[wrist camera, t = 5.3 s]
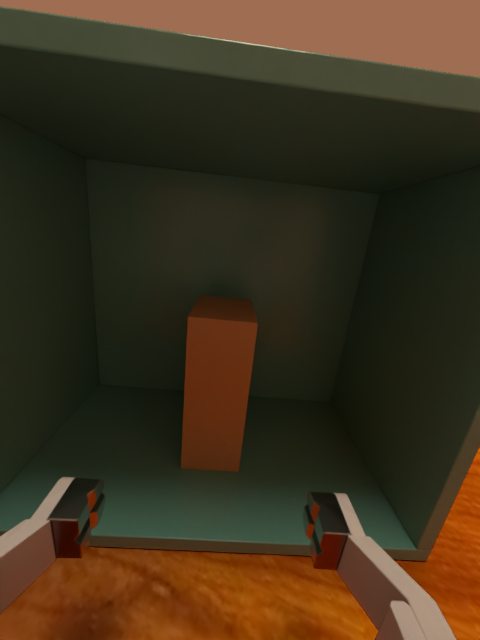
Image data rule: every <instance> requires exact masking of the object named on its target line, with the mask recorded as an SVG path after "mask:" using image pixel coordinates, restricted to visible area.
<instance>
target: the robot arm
mask: <svg viewBox="0 0 480 640" xmlns="http://www.w3.org/2000/svg"><path fill="white" fill-rule="evenodd" d="M103 488H104V480H98V479H87V478H74V477H62V478H61V479H59V480H58V481H57V483H56V484H55V485H54V487H53V488H52V490H51V491H50V492H49V494H48V495H47V496H46V498H45V499H44V501H43V502H42V503H41V505H40V506H39V507H38V509H37V510H36V512H35V513H34V514H33V516H32V517H31V518H30V519H25V520H24V521H22V522H21V523H19V524H18V525H16V526H15V527H13V528H12V529H11V530H9V531H8V532H6V533H5V534H3V535H2V536H0V614H1V613H2V612H3V611H4V610H5V609H6V608H7V607H8V606H9V605H10V604H11V603H12V602H13V601H14V600H15V599H16V598H17V597H19V596H20V595H21V594H22V593H23V592H24V591H25V590H26V589H27V588H28V587H29V586H30V585H31V584H32V583H33V582H34V581H35V580H36V579H37V578H38V577H39V576H40V575H41V574H42V573H43V572H44V571H45V570H46V569H47V568H48V567H49V566H50V565H51V564H52V563H53V562H54V561H55V560H56V558H82V557H83V554H84V552H85V550H86V548H87V546H88V544H89V542H90V540H91V538H92V536H91V530H92V529H93V528H94V527H95V526H97V525H98V523H99V521H100V519H101V516H102V513H103V510H104V506H105V495H104V494H103V493H102V490H103ZM307 502H308V504H307V505H306V506H304V511H303V523H304V529H305V534H306V536H307V537H308V538H309V539H310V540H311V541H310V546H309V550H310V554H311V558H312V562H313V566H314V569H327V570H337V573H338V574H339V576H340V577H341V579H342V580H343V581H344V583H345V584H346V586H347V587H348V588H349V590H350V591H351V593H352V594H353V596H354V597H355V598H356V600H357V601H358V603H359V604H360V605H361V607H362V608H363V610H364V611H365V612H366V614H367V615H368V617H369V618H370V619H371V621H372V622H373V624H374V625H375V627H376V628H377V629H378V634H377V636H376V638H375V640H457V639H456V637H455V635H454V634H453V632H452V630H451V628H450V626H449V625H448V623H447V621H446V619H445V617H444V616H443V614H442V612H441V610H440V608H439V607H438V605H437V603H436V601H435V600H434V599H433V598H432V597H431V596H430V595H429V594H428V593H427V592H426V591H425V590H424V589H423V588H422V587H421V586H420V585H419V584H418V583H417V582H416V581H415V580H414V579H412V578H411V577H410V576H409V575H408V574H407V573H406V572H405V571H404V570H403V569H402V568H401V567H400V566H399V565H398V564H397V563H396V562H395V561H394V560H393V559H392V558H391V557H390V556H389V555H388V554H387V553H386V552H385V551H384V550H383V549H382V548H381V547H380V546H379V545H378V544H377V543H376V542H375V541H374V540H373V539H372V538H371V537H368V536H366V535H365V533H364V531H363V528H362V526H361V524H360V522H359V519H358V517H357V515H356V513H355V511H354V508H353V506H352V504H351V502H350V499H349V497H348V496H347V494H345V493H332V492H310V491H309V492H308V494H307Z"/></svg>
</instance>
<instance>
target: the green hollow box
mask: <svg viewBox="0 0 480 640" xmlns="http://www.w3.org/2000/svg"><path fill="white" fill-rule="evenodd" d="M200 295H206V296H217V297H227V298H237V299H248V300H251V301H252V304H253V308H254V311H255V315H256V318H257V322H258V327H257V335H256V343H255V350H254V358H253V366H252V373H251V381H250V389H249V396H248V404H247V411H246V419H245V427H244V434H243V442H242V450H241V457H240V465H239V471H238V472H234V471H218V470H201V469H185V468H181V449H182V427H183V405H184V384H185V362H186V340H187V319H188V316H189V314H190V312H191V310H192V309H193V307H194V305H195V303H196V301H197V300H198V298H199V296H200ZM479 447H480V78H479V77H473V76H466V75H459V74H452V73H446V72H439V71H433V70H425V69H419V68H412V67H406V66H399V65H392V64H386V63H379V62H372V61H365V60H359V59H352V58H345V57H338V56H332V55H325V54H318V53H311V52H304V51H298V50H292V49H285V48H278V47H271V46H265V45H258V44H251V43H244V42H238V41H231V40H224V39H218V38H211V37H204V36H198V35H191V34H184V33H177V32H170V31H164V30H157V29H151V28H144V27H137V26H130V25H123V24H117V23H110V22H104V21H96V20H90V19H83V18H77V17H70V16H63V15H57V14H50V13H43V12H36V11H30V10H23V9H16V8H9V7H3V6H0V536H2V535H3V534H5V533H6V532H8V531H9V530H11V529H12V528H13V527H15V526H16V525H18V524H19V523H21V522H22V521H24V520H25V519H30V518H31V517H32V516H33V514H34V513H35V512H36V510H37V509H38V507H39V506H40V505H41V503H42V502H43V501H44V499H45V498H46V496H47V495H48V494H49V492H50V491H51V490H52V488H53V487H54V485H55V484H56V483H57V481H58V480H59V479H61V478H62V477H74V478H87V479H98V480H104V488H103V490H102V493H103V494H104V495H105V506H104V510H103V513H102V516H101V519H100V521H99V523H98V525H97V526H95V527H94V528H93V529H92V530H91V536H92V538H91V540H90V542H89V544H88V546H98V547H121V548H144V549H166V550H189V551H212V552H234V553H257V554H280V555H302V556H311V554H310V550H309V546H310V541H311V540H310V539H309V538H308V537H307V536H306V534H305V529H304V523H303V511H304V506H306V505H307V504H308V502H307V494H308V492H309V491H310V492H332V493H345V494H347V496H348V497H349V499H350V502H351V504H352V506H353V508H354V511H355V513H356V515H357V517H358V519H359V522H360V524H361V526H362V528H363V531H364V533H365V535H366V536H368V537H371V538H372V539H373V540H374V541H375V542H376V543H377V544H378V545H379V546H380V547H381V548H382V549H383V550H384V551H385V552H386V553H387V554H388V555H389V556H390V557H391V558H392V559H393V560H416V561H426V560H427V558H428V556H429V554H430V552H431V549H432V548H433V545H434V543H435V541H436V539H437V537H438V535H439V533H440V530H441V528H442V526H443V524H444V522H445V520H446V517H447V515H448V513H449V511H450V509H451V507H452V505H453V502H454V500H455V498H456V496H457V494H458V492H459V490H460V487H461V485H462V483H463V481H464V479H465V477H466V474H467V472H468V470H469V468H470V466H471V464H472V462H473V459H474V457H475V455H476V453H477V451H478V449H479Z"/></svg>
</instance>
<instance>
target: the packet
mask: <svg viewBox="0 0 480 640" xmlns="http://www.w3.org/2000/svg"><path fill="white" fill-rule="evenodd" d="M257 327H258V322H257V318H256V315H255V311H254V308H253V304H252V301H251V300H248V299H237V298H227V297H217V296H206V295H200V296H199V298H198V300H197V301H196V303H195V305H194V307H193V309H192V310H191V312H190V314H189V316H188V319H187V340H186V362H185V384H184V405H183V427H182V449H181V468H185V469H201V470H218V471H234V472H238V471H239V465H240V457H241V450H242V442H243V434H244V427H245V419H246V411H247V404H248V396H249V389H250V381H251V373H252V366H253V358H254V350H255V343H256V335H257Z"/></svg>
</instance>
